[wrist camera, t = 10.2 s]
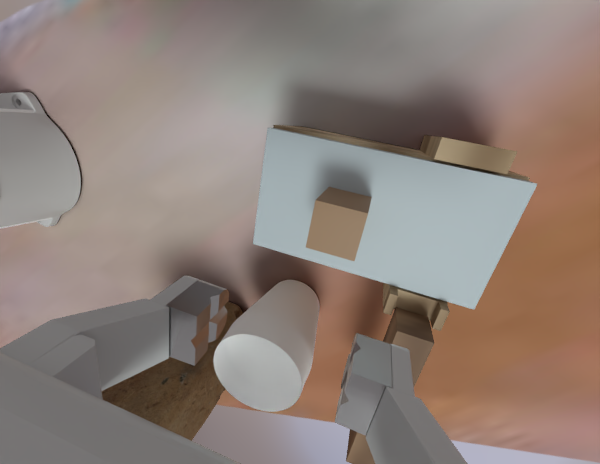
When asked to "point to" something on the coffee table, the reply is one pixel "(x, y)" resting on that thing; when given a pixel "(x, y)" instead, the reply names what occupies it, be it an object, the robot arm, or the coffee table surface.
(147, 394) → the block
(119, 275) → the coffee table surface
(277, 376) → the cup
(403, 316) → the bar
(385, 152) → the lid
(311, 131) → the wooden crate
